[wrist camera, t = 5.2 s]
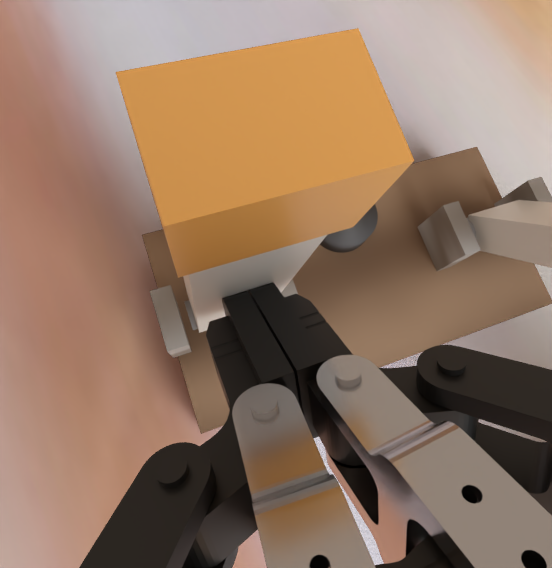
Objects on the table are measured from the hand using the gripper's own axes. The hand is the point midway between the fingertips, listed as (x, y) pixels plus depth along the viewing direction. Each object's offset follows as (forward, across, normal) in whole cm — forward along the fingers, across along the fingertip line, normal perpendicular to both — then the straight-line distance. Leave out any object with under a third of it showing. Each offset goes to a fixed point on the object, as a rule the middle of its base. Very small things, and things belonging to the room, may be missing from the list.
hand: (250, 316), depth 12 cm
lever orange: (+5, 0, +3) cm, 6 cm away
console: (+8, -6, +6) cm, 12 cm away
